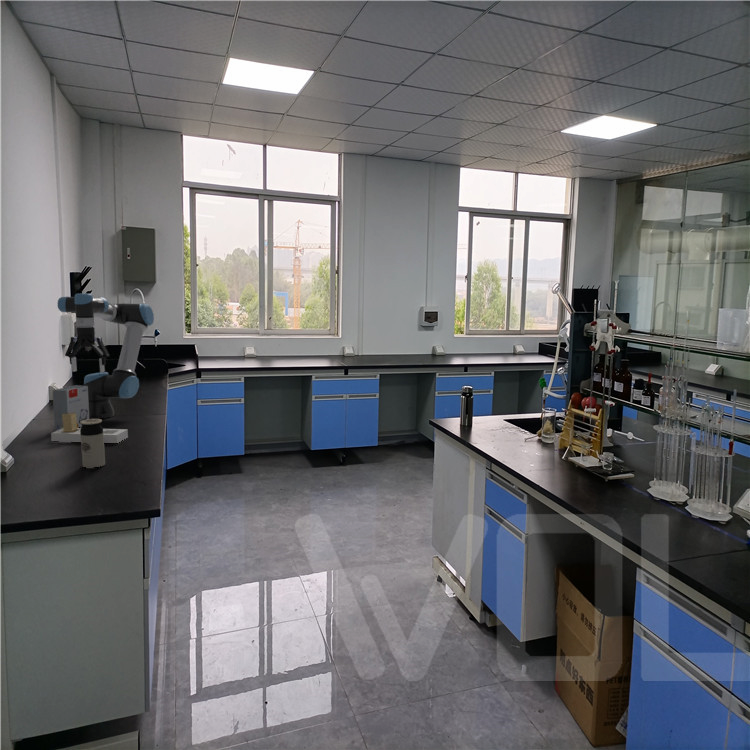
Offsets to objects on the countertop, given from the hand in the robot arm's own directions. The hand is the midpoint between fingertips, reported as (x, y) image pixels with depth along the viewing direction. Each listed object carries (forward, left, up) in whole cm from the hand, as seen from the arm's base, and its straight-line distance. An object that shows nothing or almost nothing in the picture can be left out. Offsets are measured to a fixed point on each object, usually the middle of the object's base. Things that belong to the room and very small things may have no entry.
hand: (88, 371), depth 270 cm
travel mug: (+51, +29, -29) cm, 65 cm away
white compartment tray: (+16, +8, -29) cm, 34 cm away
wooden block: (+16, -1, -29) cm, 33 cm away
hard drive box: (-4, -12, -29) cm, 32 cm away
